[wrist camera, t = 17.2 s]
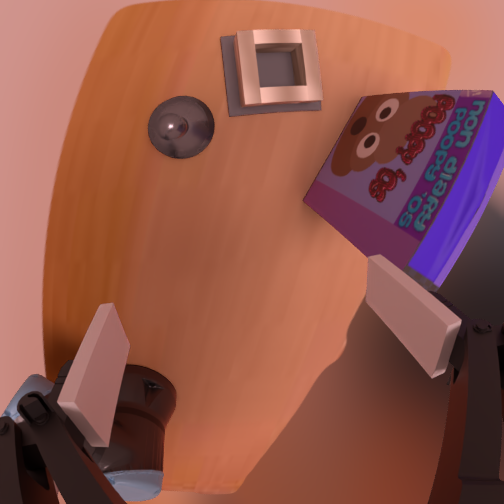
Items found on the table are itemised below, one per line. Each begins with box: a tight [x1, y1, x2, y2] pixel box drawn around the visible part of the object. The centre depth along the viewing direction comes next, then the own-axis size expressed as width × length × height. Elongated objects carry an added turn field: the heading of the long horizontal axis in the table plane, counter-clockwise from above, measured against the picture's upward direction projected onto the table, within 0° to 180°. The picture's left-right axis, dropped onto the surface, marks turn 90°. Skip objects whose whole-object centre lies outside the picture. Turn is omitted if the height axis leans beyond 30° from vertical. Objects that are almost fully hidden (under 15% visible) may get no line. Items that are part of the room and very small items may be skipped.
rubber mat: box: [221, 36, 321, 117], centre depth 34 cm, size 12×11×1 cm
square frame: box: [233, 29, 323, 107], centre depth 32 cm, size 9×9×5 cm
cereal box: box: [303, 90, 504, 292], centre depth 29 cm, size 17×5×24 cm, turn 151°
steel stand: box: [148, 96, 214, 159], centre depth 30 cm, size 8×8×13 cm
